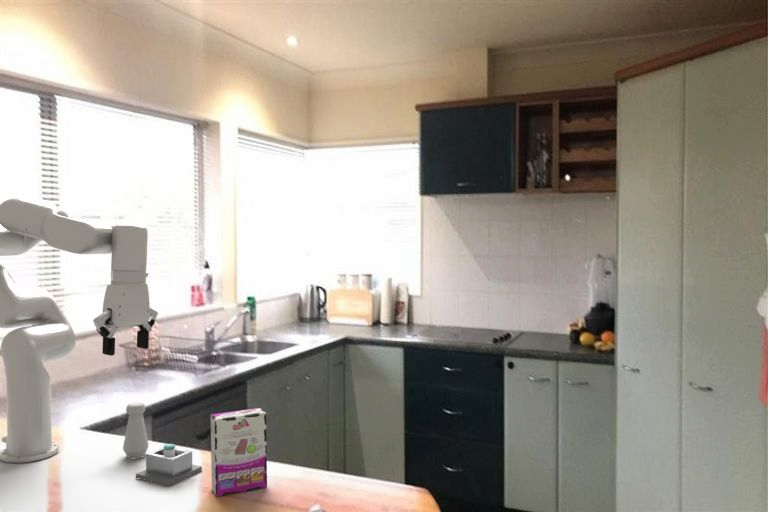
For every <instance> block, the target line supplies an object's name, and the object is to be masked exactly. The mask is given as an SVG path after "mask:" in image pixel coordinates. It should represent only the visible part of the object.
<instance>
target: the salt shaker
mask: <svg viewBox="0 0 768 512" xmlns="http://www.w3.org/2000/svg"><path fill="white" fill-rule="evenodd" d="M125 410H126V411H125V412H126V414H127V415H129V416H128V419H127V426H126V429H125V430H126V431H125V436H124V442H123V447H122V449H123V452H124V453H125V455H126V457H127V459H128V458H137V459H139V458H138V457H142V456H143V457H145V456H146V454H147V451H148V448H149V440H148V434H147V430H146V425H145V424H146V423H145V418H144V413H145V412H146V411H145V410H146V405H145V404H144V402H139V401H137V402H131V403H128V405H127V406H126V409H125ZM143 457H142V458H143Z"/></svg>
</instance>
